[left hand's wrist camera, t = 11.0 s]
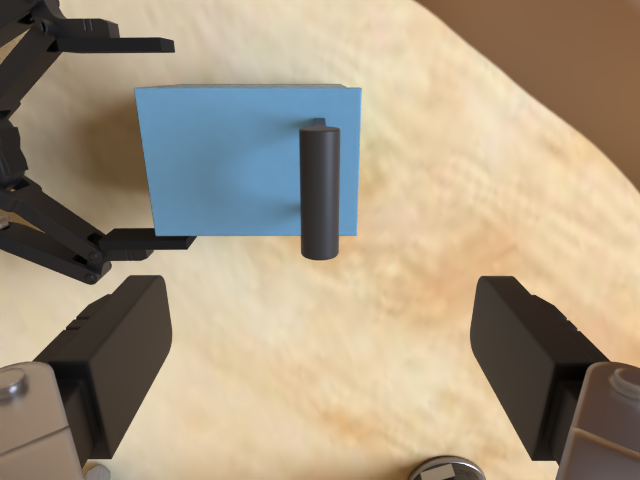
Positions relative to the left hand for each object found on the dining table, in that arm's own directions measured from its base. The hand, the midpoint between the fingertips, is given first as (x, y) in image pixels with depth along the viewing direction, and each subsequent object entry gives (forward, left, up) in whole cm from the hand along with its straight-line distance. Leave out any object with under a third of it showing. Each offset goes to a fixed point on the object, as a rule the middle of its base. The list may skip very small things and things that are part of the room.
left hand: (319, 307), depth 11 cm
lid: (-1, +4, -19) cm, 19 cm away
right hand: (-1, +10, -21) cm, 23 cm away
